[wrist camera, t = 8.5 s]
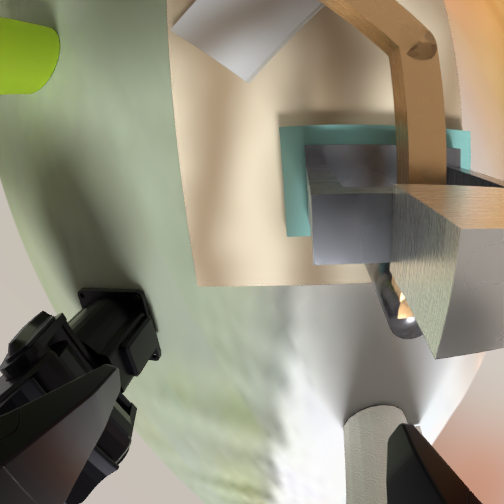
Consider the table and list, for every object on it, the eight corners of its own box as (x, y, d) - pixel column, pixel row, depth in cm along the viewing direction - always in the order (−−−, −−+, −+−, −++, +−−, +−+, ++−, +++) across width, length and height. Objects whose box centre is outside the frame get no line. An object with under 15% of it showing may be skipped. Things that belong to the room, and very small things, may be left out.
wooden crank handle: (368, 275, 19) (395, 347, 12) (188, -37, 13) (139, -93, 6) (452, 234, 17) (512, 286, 10) (274, -76, 11) (259, -144, 4)
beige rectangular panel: (202, 279, 22) (193, 293, 20) (170, -49, 13) (159, -61, 11) (446, 272, 19) (457, 285, 17) (418, -59, 10) (426, -71, 9)
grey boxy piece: (304, 145, 16) (316, 178, 4) (452, 147, 14) (634, 200, 3) (308, 219, 17) (316, 396, 6) (450, 216, 16) (597, 341, 4)
